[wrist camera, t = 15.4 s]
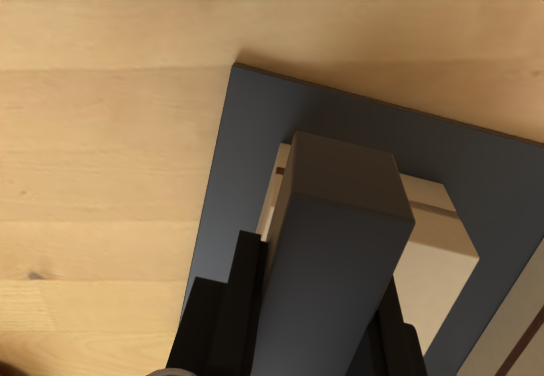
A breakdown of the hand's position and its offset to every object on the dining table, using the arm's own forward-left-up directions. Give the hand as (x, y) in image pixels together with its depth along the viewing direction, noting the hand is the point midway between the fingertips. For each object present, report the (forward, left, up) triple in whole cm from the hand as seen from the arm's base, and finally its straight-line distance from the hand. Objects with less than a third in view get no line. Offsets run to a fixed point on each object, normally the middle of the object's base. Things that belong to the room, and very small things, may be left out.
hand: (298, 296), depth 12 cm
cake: (+7, +5, -13) cm, 16 cm away
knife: (+5, 0, -1) cm, 5 cm away
